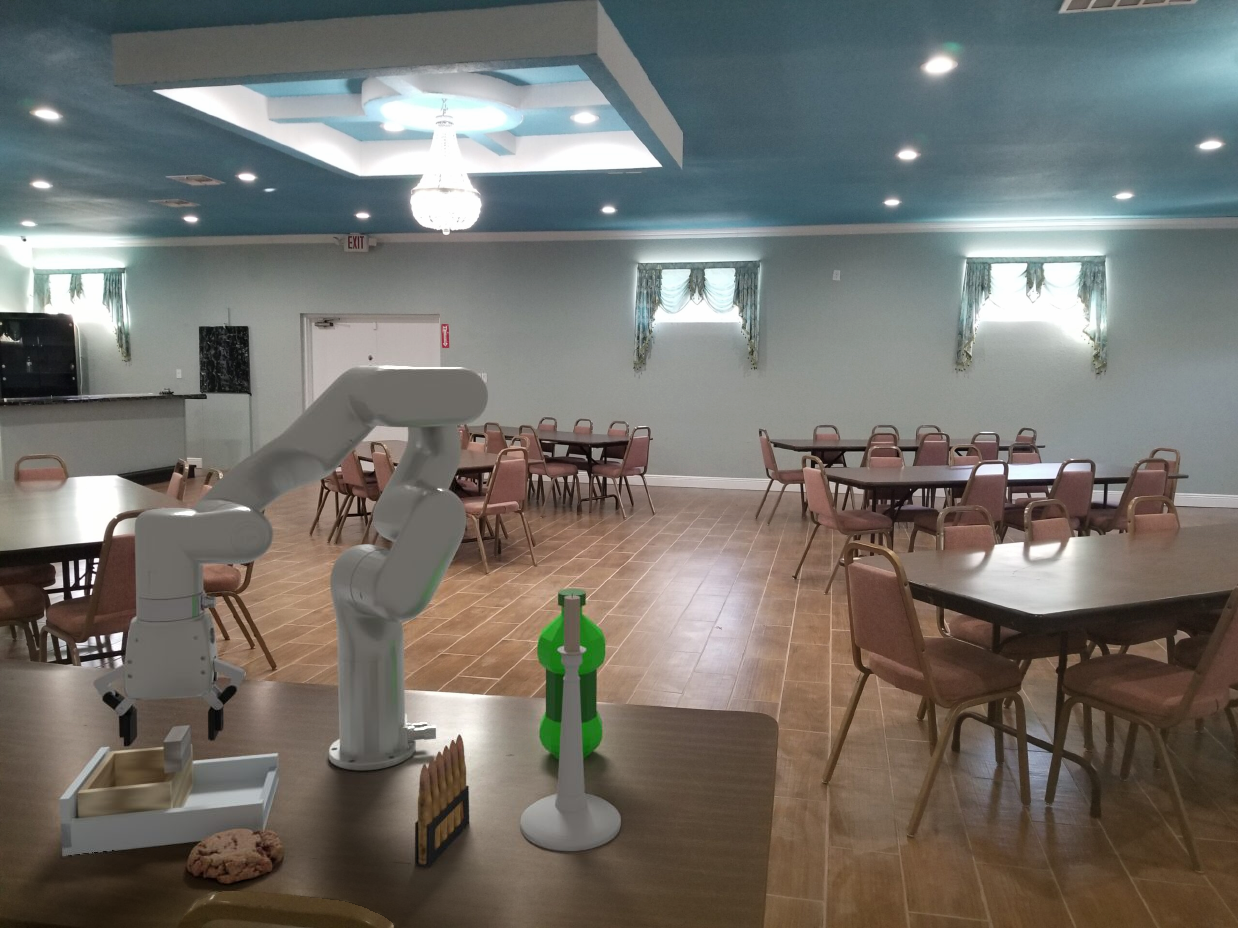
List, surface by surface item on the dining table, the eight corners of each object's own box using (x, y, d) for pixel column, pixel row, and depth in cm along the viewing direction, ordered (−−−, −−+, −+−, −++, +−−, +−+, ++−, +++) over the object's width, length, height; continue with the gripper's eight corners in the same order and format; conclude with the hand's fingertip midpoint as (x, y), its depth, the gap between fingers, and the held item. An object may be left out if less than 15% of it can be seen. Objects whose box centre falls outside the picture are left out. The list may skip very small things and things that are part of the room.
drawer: (198, 784, 117) (195, 715, 116) (177, 829, 105) (173, 752, 104) (111, 793, 114) (107, 722, 113) (79, 839, 103) (75, 760, 102)
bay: (278, 780, 120) (277, 732, 120) (263, 833, 106) (261, 779, 106) (103, 797, 115) (101, 747, 114) (62, 856, 101) (59, 799, 100)
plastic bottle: (550, 736, 136) (550, 581, 134) (613, 745, 133) (615, 586, 131) (525, 763, 127) (526, 597, 124) (594, 773, 124) (595, 603, 121)
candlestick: (622, 800, 116) (624, 582, 113) (619, 852, 103) (622, 607, 100) (527, 798, 116) (527, 580, 113) (513, 849, 104) (513, 605, 101)
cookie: (197, 846, 104) (196, 822, 104) (290, 836, 106) (290, 813, 106) (175, 894, 94) (174, 868, 94) (278, 882, 97) (277, 857, 96)
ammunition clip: (456, 820, 110) (456, 730, 109) (469, 822, 110) (469, 732, 108) (414, 865, 100) (413, 766, 99) (428, 868, 99) (427, 768, 98)
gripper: (249, 597, 114) (250, 723, 115) (103, 602, 109) (106, 732, 111) (239, 612, 106) (240, 746, 108) (82, 617, 102) (85, 756, 104)
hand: (172, 739), depth 109 cm, fingers open, 9 cm apart
